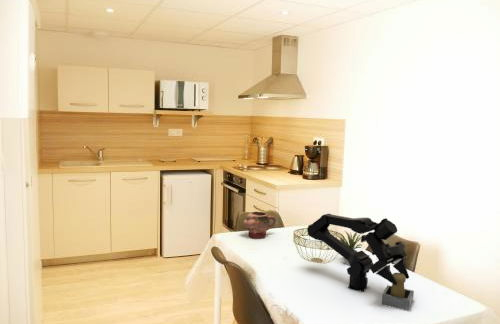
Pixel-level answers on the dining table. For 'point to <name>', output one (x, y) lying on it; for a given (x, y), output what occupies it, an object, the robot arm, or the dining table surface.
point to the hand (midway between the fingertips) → (402, 281)
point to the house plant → (350, 244)
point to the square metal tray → (397, 299)
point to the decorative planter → (258, 224)
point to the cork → (398, 285)
